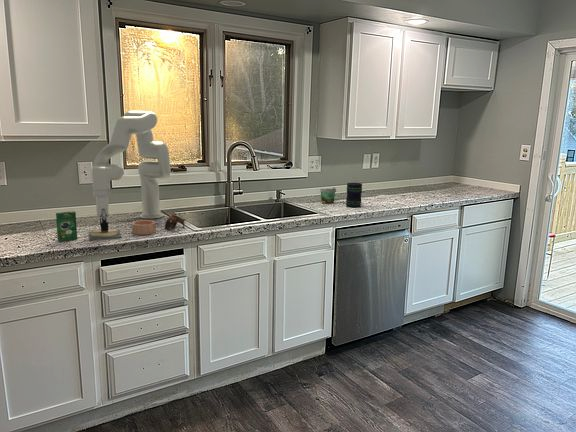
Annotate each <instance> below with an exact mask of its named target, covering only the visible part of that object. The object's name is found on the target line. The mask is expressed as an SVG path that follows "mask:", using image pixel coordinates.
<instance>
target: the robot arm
mask: <svg viewBox="0 0 576 432" xmlns="http://www.w3.org/2000/svg"><path fill="white" fill-rule="evenodd" d="M157 123H158V117H157V114H156V113H155V112H154V111H149V110H148V111H147V110H128V111H126V112H124V114H123V116H120V117H118V118H117V120H116V122H115V124H114V128H113V131H112V135H111V138H110V141H109V143H108V144H106V145H105V146H104V147H102V149H101V150H100V151H99V152H97V155H96V156H95V158H94V162H93V166H92V168H91V181H92V195H93V197H95V206H96V217H97V219H99V224H100V225H99V226H100V229H101V231H108V230H109V229H110V228H109V222H108V218H109V209H110V208H109V197H110V196H112V195H111V181H119V180H121V179H122V178H123V177H124V174H125V171H124V168H123V167H122V166H121V165H119V164H113V163H112V164H111V163H107V162H108V161H109V160H110V159H111V158H112V157H114V156H116V155H118V154H121V153H123V152H125V151H127V150H128V148H129V144H130V141H131V137H132V135H135V137H136V142H137V151H138V153H139V157H140V158H143V159H148V160H142V161H141V162H139V164H138V165H137V171H138V174H139V179H140V189H141V209H142V213H139V217H140V218H141V219H144V220H152V219H159V218H162V217H163V216H164V214H163V213H162V212H161V207H160V206H161V205H160V185H159V182H158V180H157V179H161V180H162V179H165V180H166V179H168V178H169V177H170V175H171V162H170V152H169V148H168V146H167V144H166V143H165V142H163V141H156V140H154V134H153V130H152V129H154V128H155V127H156V125H157Z"/></svg>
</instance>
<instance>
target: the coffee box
mask: <svg viewBox="0 0 576 432" xmlns="http://www.w3.org/2000/svg"><path fill="white" fill-rule="evenodd" d="M55 216H56V217H55V218H56V221H55V222H56V233H57V241H58V242H59V243H60V242H66V241H73V240H77V239H78V231H77V230H78V229H77V227H78V226H77V214H76V211H74V210H70V211H63V212H55Z"/></svg>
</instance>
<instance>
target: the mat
mask: <svg viewBox="0 0 576 432" xmlns="http://www.w3.org/2000/svg"><path fill="white" fill-rule="evenodd" d="M117 230H118V235H116V236H113V237H107V238H96V237H92V236H91V232H92V231H89V232H88V239H89V242H90V241H91V242H92V241H101V240H103V241H105V240H113V239H114V240H115V239H122V238H123V237H122V234H121V231H120V229H117Z"/></svg>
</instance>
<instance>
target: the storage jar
mask: <svg viewBox="0 0 576 432" xmlns="http://www.w3.org/2000/svg"><path fill="white" fill-rule="evenodd" d="M362 192H363V184H362V182H361V183H360V182H347V183H346V200H345V204H346V205H345V206H346V207H347V208H350V209H359V208H362Z"/></svg>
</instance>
